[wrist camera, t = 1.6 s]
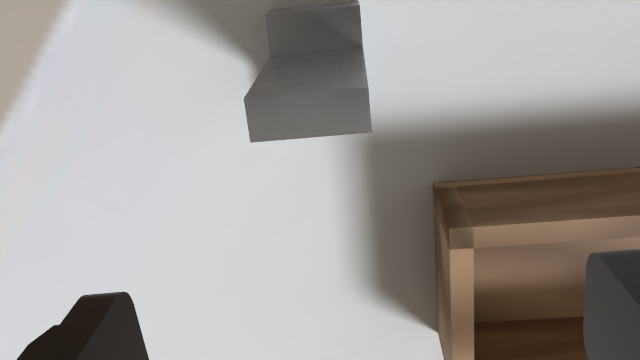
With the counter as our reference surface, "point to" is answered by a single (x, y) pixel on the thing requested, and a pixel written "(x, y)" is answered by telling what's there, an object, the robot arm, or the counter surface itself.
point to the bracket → (311, 76)
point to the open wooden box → (525, 259)
